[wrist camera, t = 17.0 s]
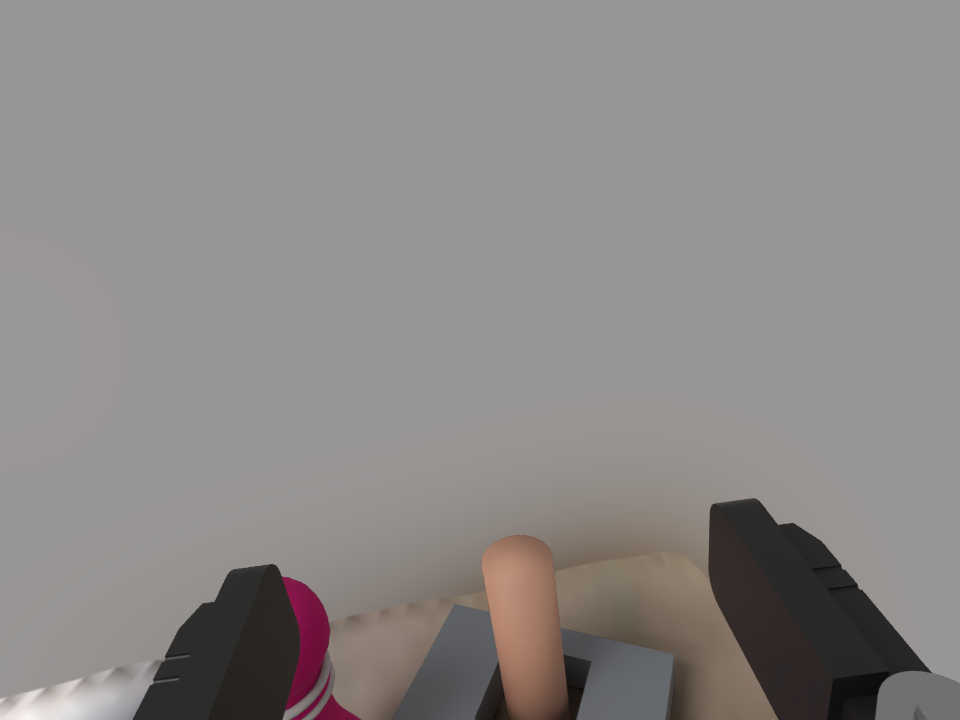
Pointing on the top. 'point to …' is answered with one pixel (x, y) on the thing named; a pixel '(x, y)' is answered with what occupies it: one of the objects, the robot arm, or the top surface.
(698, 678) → the top surface
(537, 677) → the dowel
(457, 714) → the socket block
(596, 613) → the top surface
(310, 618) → the pepper mill
